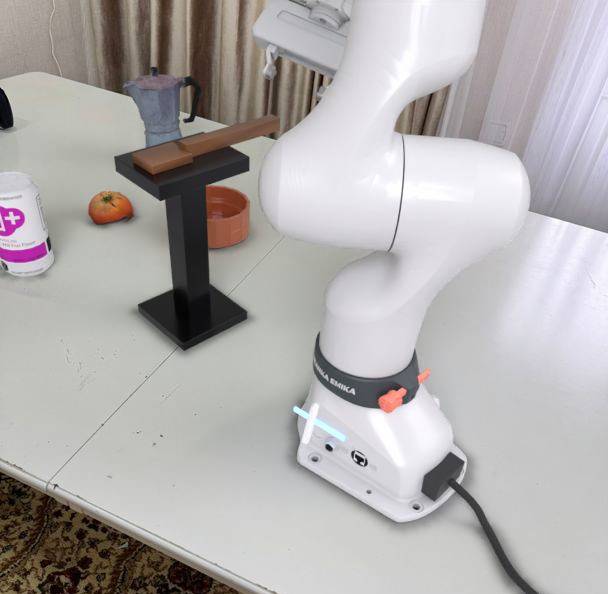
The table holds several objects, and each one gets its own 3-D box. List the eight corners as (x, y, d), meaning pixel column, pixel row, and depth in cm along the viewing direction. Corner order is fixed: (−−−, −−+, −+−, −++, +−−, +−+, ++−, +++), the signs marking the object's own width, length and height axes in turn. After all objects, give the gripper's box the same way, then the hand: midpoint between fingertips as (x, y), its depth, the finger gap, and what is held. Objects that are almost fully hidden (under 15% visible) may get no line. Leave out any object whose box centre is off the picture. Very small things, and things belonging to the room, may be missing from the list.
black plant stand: (252, 316, 98) (254, 159, 81) (178, 354, 90) (163, 189, 73) (205, 281, 104) (198, 128, 87) (132, 314, 96) (109, 153, 79)
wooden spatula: (285, 133, 87) (286, 121, 86) (152, 175, 75) (151, 161, 74) (265, 123, 90) (265, 111, 88) (132, 162, 78) (131, 148, 76)
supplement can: (39, 282, 100) (17, 198, 91) (-8, 274, 101) (-35, 189, 91) (64, 256, 107) (46, 174, 97) (19, 248, 107) (-3, 166, 98)
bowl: (263, 234, 116) (264, 205, 112) (207, 258, 109) (205, 228, 105) (220, 207, 123) (219, 178, 119) (163, 227, 116) (161, 198, 112)
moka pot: (130, 155, 138) (118, 60, 124) (199, 150, 142) (195, 58, 128) (135, 174, 131) (123, 76, 118) (207, 169, 135) (204, 73, 122)
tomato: (74, 213, 114) (91, 177, 114) (94, 222, 121) (110, 188, 121) (109, 231, 113) (127, 195, 112) (128, 239, 120) (144, 205, 119)
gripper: (272, -26, 96) (231, 51, 95) (392, 23, 93) (350, 103, 92) (278, 2, 102) (239, 74, 101) (390, 48, 99) (351, 123, 99)
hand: (293, 88), depth 97 cm, fingers open, 8 cm apart
